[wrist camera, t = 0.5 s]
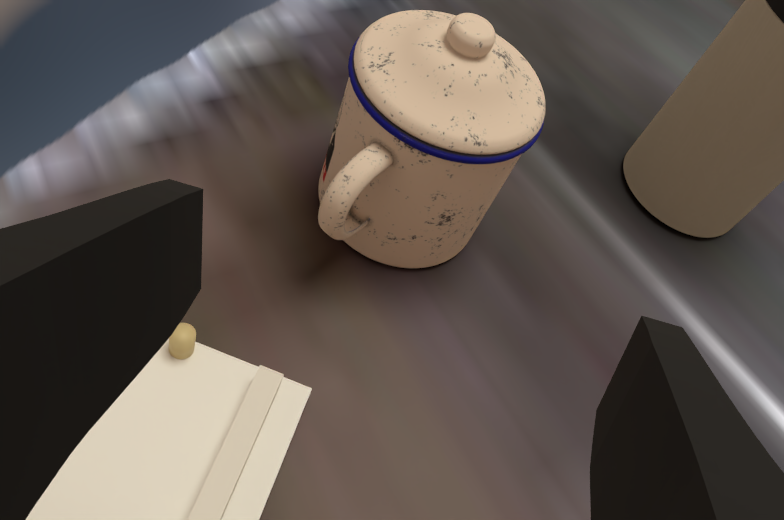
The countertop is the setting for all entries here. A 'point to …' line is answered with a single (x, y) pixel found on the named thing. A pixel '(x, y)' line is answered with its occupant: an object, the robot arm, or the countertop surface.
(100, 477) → the cream flat piece
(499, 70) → the teacup with lid
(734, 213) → the travel mug
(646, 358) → the robot arm
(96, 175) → the countertop surface
